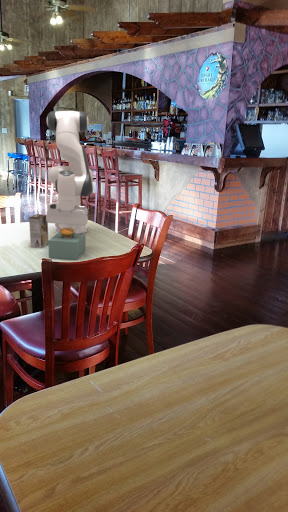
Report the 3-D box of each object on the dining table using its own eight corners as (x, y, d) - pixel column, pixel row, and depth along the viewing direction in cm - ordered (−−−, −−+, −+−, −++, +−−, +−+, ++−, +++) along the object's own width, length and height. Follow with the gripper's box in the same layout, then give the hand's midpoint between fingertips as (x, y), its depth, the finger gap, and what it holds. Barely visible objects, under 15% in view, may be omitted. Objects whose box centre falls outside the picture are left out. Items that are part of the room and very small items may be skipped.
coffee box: (37, 242, 228) (36, 213, 224) (48, 243, 227) (47, 214, 222) (30, 247, 220) (28, 217, 215) (41, 248, 219) (40, 218, 214)
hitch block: (59, 248, 219) (58, 232, 216) (85, 250, 217) (85, 234, 214) (49, 258, 203) (48, 240, 201) (77, 260, 202) (76, 242, 199)
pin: (63, 247, 213) (62, 227, 210) (75, 248, 212) (75, 228, 209) (59, 251, 207) (58, 230, 204) (72, 251, 206) (71, 231, 203)
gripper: (89, 205, 205) (89, 232, 209) (48, 202, 207) (49, 229, 211) (86, 207, 199) (86, 235, 203) (44, 205, 201) (45, 232, 205)
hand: (67, 232), depth 207 cm, fingers closed on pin, 7 cm apart
